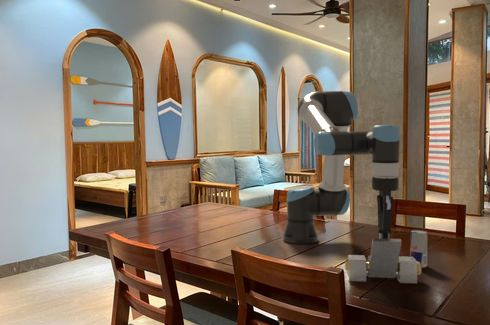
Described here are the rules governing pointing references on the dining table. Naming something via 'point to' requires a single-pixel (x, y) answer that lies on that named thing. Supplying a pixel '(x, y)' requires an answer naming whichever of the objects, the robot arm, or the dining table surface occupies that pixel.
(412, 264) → the hinge knuckle blocks
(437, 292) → the dining table surface
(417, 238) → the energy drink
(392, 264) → the leaf loose
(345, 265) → the pin
